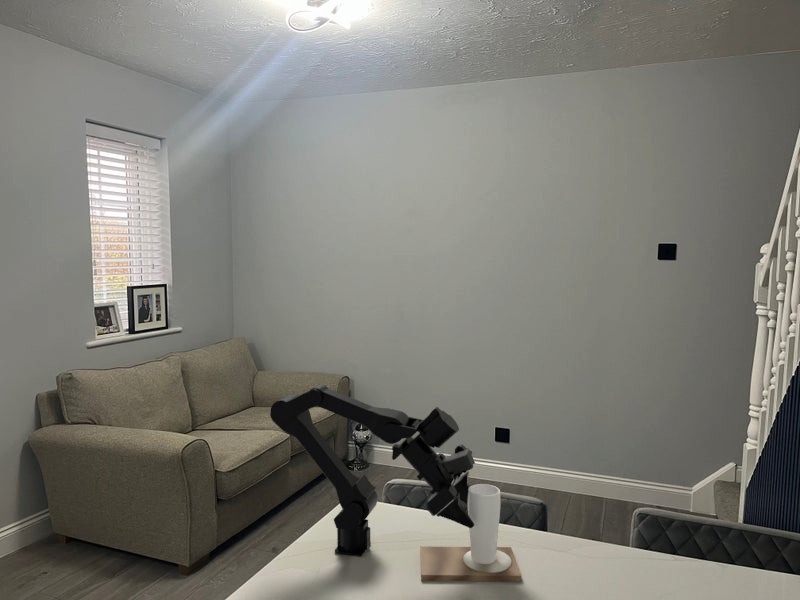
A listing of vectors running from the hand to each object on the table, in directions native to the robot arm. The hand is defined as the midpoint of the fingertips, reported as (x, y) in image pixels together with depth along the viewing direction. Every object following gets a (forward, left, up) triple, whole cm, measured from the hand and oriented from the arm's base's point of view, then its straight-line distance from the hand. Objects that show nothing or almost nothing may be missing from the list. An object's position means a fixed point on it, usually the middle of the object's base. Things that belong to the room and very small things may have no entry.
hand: (475, 517), depth 125 cm
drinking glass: (+2, 0, -9) cm, 9 cm away
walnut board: (-1, -1, -10) cm, 10 cm away
